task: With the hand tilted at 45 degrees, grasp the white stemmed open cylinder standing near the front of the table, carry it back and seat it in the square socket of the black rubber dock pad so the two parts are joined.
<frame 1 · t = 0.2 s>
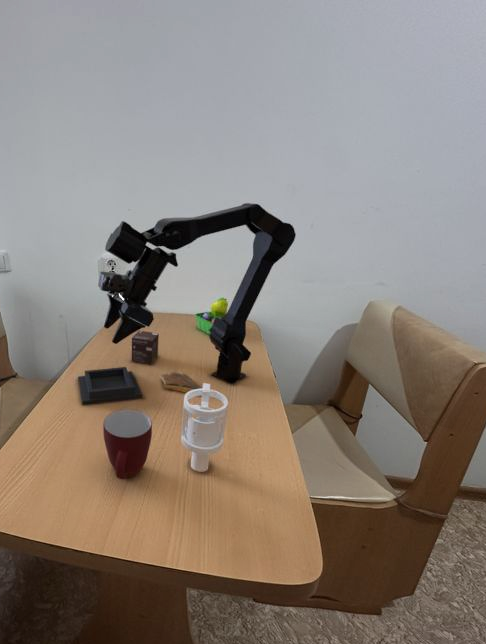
hand: (109, 335, 84), 15 cm above the table, tool tilted 30°, fingers open, 9 cm apart
mug: (127, 475, 65), on the table
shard: (183, 385, 93), on the table
white stemmed open cylinder: (199, 466, 66), on the table
dock pad: (108, 388, 91), on the table
fruit basket: (213, 331, 126), on the table
box: (144, 359, 106), on the table
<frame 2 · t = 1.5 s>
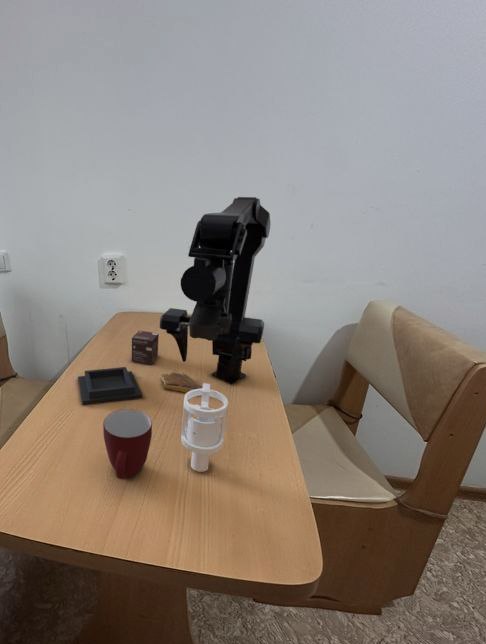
hand: (207, 365, 74), 13 cm above the table, tool pointing down, fingers open, 9 cm apart
nothing on the table moved.
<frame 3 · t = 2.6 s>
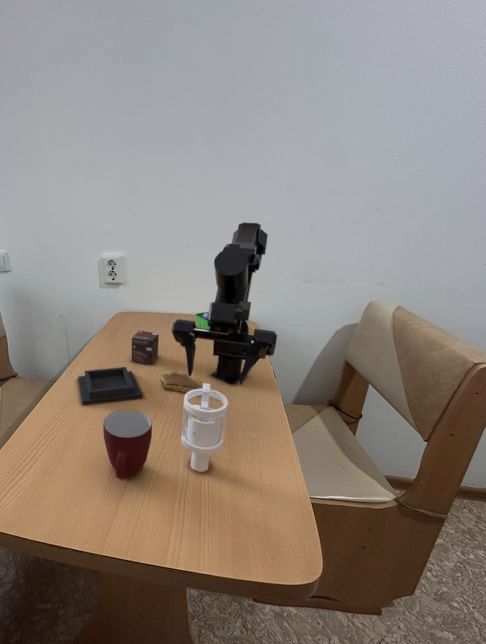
hand: (214, 379, 68), 13 cm above the table, tool tilted 45°, fingers open, 9 cm apart
nothing on the table moved.
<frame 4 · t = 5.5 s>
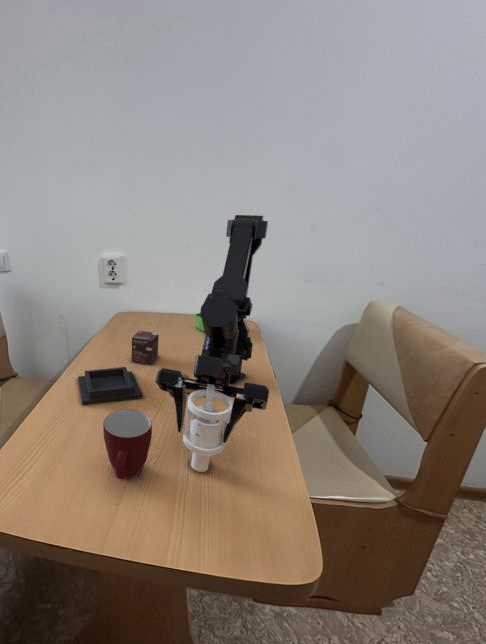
hand: (201, 437, 62), 7 cm above the table, tool tilted 45°, fingers closed on white stemmed open cylinder, 7 cm apart
white stemmed open cylinder: (199, 466, 66), on the table, touching gripper
everything else where it was.
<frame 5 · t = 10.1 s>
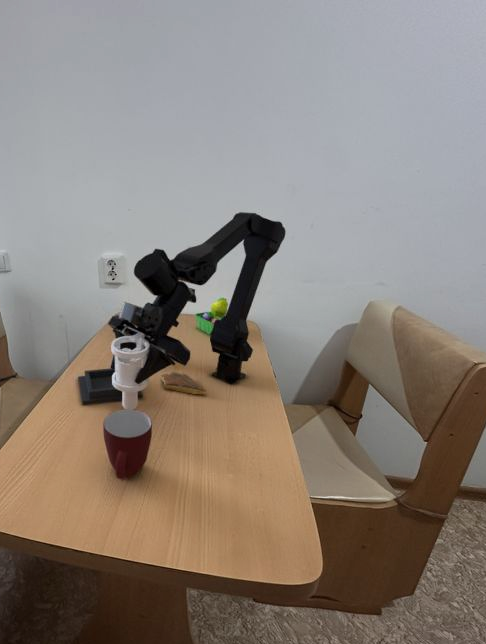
hand: (123, 375, 71), 12 cm above the table, tool tilted 45°, fingers closed on white stemmed open cylinder, 7 cm apart
white stemmed open cylinder: (129, 405, 76), point 5 cm above the table, touching gripper
everything else where it was.
when the fingers open (8 cm above the table, at t = 14.9 s): white stemmed open cylinder stays where it is, resting on dock pad.
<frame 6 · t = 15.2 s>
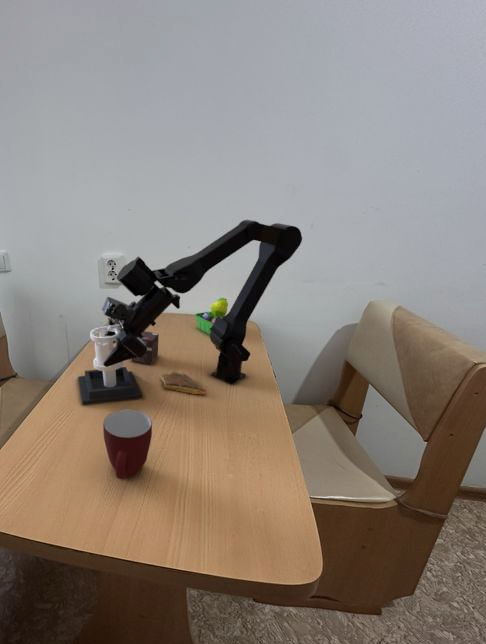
hand: (101, 356, 87), 9 cm above the table, tool tilted 45°, fingers open, 9 cm apart
white stemmed open cylinder: (110, 384, 91), point 1 cm above the table, touching dock pad, gripper
everything else where it was.
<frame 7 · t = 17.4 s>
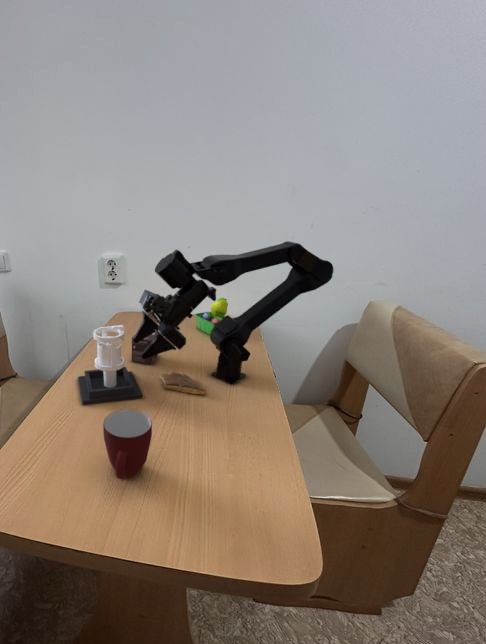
hand: (138, 349, 88), 10 cm above the table, tool tilted 45°, fingers open, 9 cm apart
white stemmed open cylinder: (110, 385, 91), point 1 cm above the table, touching dock pad
everything else where it was.
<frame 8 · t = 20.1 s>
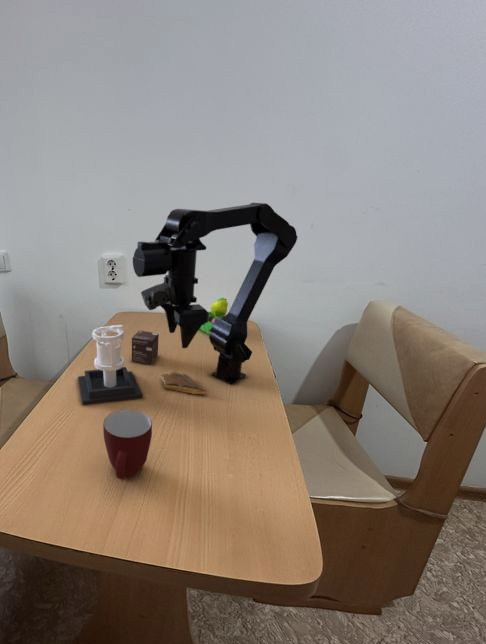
hand: (177, 339, 86), 13 cm above the table, tool pointing down, fingers open, 9 cm apart
nothing on the table moved.
at the end: white stemmed open cylinder 0.4 cm off-centre on the dock pad, point 0.8 cm above the dock pad's base; white stemmed open cylinder tilted 1°; the gripper is holding nothing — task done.
